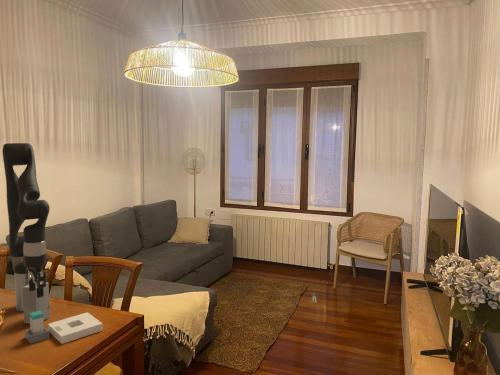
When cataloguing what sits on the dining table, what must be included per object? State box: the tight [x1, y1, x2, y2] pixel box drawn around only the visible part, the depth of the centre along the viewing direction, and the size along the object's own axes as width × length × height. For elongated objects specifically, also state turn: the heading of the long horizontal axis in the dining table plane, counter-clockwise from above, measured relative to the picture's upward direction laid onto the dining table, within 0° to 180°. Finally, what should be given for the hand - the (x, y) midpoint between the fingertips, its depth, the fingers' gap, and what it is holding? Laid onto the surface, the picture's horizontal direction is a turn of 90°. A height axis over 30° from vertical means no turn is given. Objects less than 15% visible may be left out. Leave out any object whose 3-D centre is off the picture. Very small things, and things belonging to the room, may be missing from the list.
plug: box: [29, 311, 45, 335], centre depth 151 cm, size 4×4×10 cm
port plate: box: [47, 312, 103, 345], centre depth 158 cm, size 14×16×3 cm
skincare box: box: [22, 282, 51, 325], centre depth 165 cm, size 8×7×16 cm
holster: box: [24, 325, 50, 345], centre depth 152 cm, size 7×7×3 cm
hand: (36, 293), depth 150 cm, fingers open, 8 cm apart
